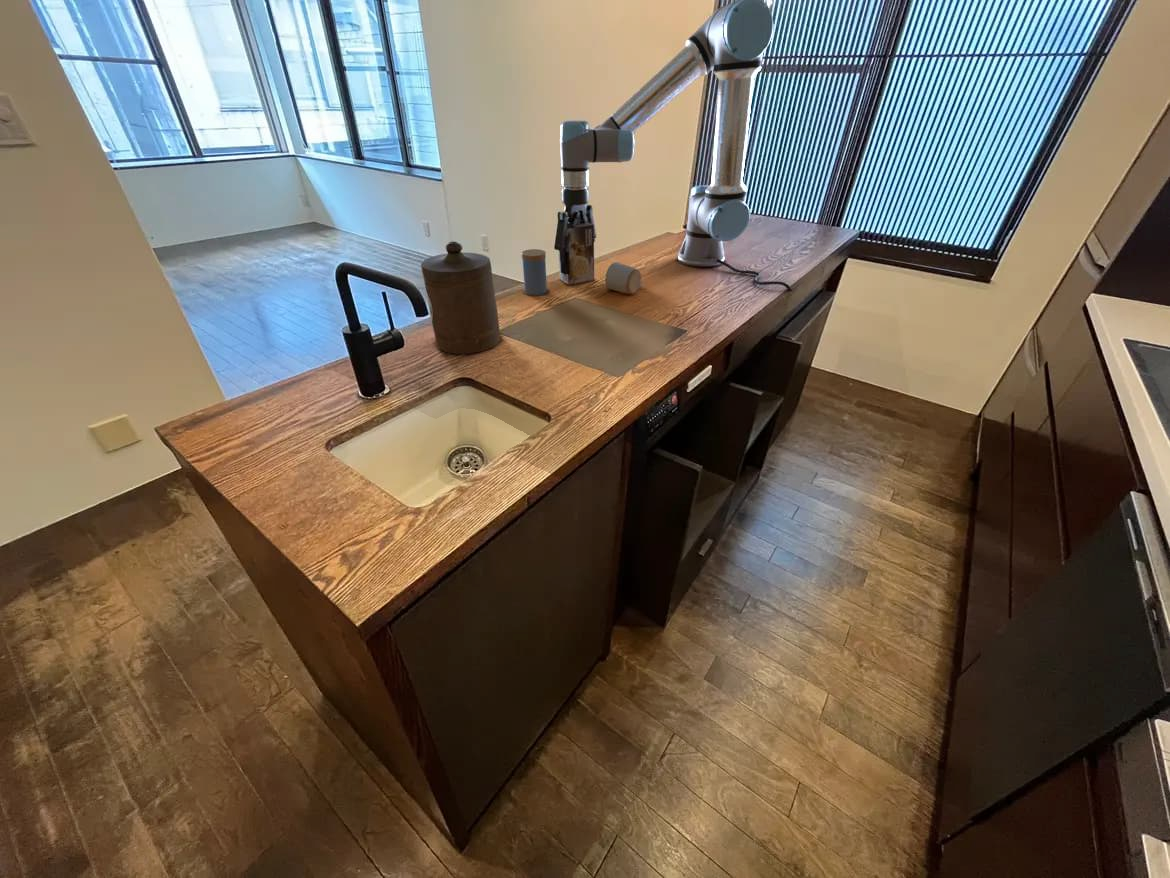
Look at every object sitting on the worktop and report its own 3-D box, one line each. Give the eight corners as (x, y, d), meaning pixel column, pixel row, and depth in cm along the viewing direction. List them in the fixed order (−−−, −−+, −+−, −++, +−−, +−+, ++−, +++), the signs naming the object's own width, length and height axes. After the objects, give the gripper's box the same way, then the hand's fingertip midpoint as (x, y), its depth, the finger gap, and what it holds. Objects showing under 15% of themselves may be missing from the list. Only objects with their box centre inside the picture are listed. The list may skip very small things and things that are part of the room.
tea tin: (552, 290, 141) (550, 251, 134) (537, 297, 136) (534, 257, 130) (534, 286, 144) (531, 247, 137) (519, 292, 139) (516, 253, 133)
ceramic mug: (627, 298, 135) (629, 270, 130) (604, 292, 139) (605, 264, 135) (647, 288, 142) (650, 261, 137) (624, 283, 146) (626, 257, 141)
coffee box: (585, 274, 152) (584, 220, 143) (594, 280, 148) (595, 224, 138) (558, 279, 149) (556, 223, 139) (567, 285, 144) (566, 228, 135)
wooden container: (458, 324, 121) (442, 231, 108) (511, 332, 117) (501, 236, 104) (423, 349, 109) (400, 248, 96) (480, 358, 105) (465, 255, 92)
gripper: (587, 180, 142) (587, 257, 155) (538, 192, 127) (542, 276, 140) (609, 183, 139) (607, 261, 152) (560, 195, 124) (563, 281, 137)
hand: (576, 268), depth 146 cm, fingers closed on coffee box, 10 cm apart
